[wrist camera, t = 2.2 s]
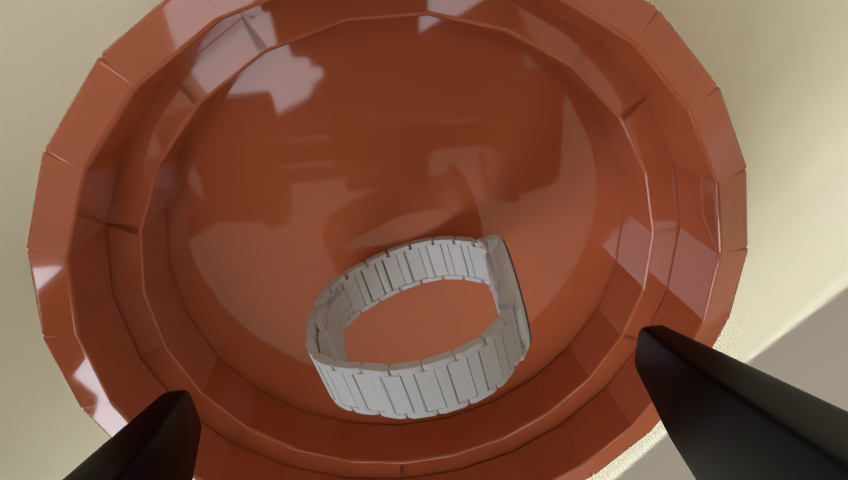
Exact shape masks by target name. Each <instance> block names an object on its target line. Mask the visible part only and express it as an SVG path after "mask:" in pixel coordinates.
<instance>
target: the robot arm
mask: <svg viewBox="0 0 848 480" xmlns="http://www.w3.org/2000/svg"><path fill="white" fill-rule="evenodd" d="M634 361H635V367H636V370H637V372H638V374H639V376H640V378H641V380H642V382H643V384H644V386H645V388H646V390H647V392H648V394H649V396H650V398H651V400H652V402H653V404H654V406H655V408H656V411H657V413H658V415H659V417H660V419H661V421H662V423H663V425H664V427H665V429H666V431H667V432H668V434H669V436H670V438H671V439H672V441H673V443H674V445H675V446H676V448H677V450H678V451H679V453H680V454H681V456H682V458H683V459H684V461H685V462H686V464H687V466H688V467H689V469H690V470H691V472H692V474H693V475H694V477H695V478H696V480H848V412H847V411H845V410H843V409H841V408H838V407H836V406H834V405H832V404H830V403H828V402H826V401H823V400H822V399H819V398H817V397H815V396H813V395H811V394H809V393H807V392H804V391H802V390H800V389H798V388H796V387H794V386H791V385H790V384H787V383H785V382H783V381H781V380H779V379H777V378H775V377H772V376H770V375H768V374H766V373H764V372H762V371H760V370H757V369H755V368H753V367H751V366H749V365H747V364H745V363H743V362H740V361H738V360H736V359H734V358H732V357H730V356H728V355H725V354H723V353H721V352H719V351H717V350H715V349H713V348H711V347H708V346H706V345H704V344H702V343H700V342H698V341H696V340H693V339H691V338H689V337H687V336H685V335H683V334H681V333H678V332H676V331H674V330H672V329H670V328H668V327H666V326H663V325H653V326H645V327H643V328H641V329H640V331H639V334H638V339H637V345H636V351H635V358H634ZM200 436H201V420H200V417H199V415H198V412H197V409H196V407H195V404H194V402H193V399H192V397H191V395H190V393H189V392H188V391H187V390H177V391H170V392H165V393H163V394H162V395H160V396H159V397H158V398H157V399H156V400H154V401H153V402H152V403H151V404H150V405H149V406H147V407H146V408H145V409H144V410H143V411H142V412H141V413H139V414H138V415H137V416H136V417H135V418H134V419H132V420H131V421H130V422H129V423H128V424H127V425H125V426H124V427H123V428H122V429H121V430H120V431H119V432H117V433H116V434H115V435H114V436H113V437H112V438H110V439H109V440H108V441H107V442H106V443H105V444H103V445H102V446H101V447H100V448H99V449H98V450H97V451H95V452H94V453H93V454H92V455H91V456H90V457H88V458H87V459H86V460H85V461H84V462H83V463H81V464H80V465H79V466H78V467H77V468H76V469H75V470H73V471H72V472H71V473H70V474H69V475H68V476H66V477H65V478H64V479H63V480H193V475H194V469H195V464H196V458H197V453H198V447H199V442H200Z"/></svg>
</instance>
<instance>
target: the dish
mask: <svg viewBox="0 0 848 480" xmlns="http://www.w3.org/2000/svg"><path fill="white" fill-rule="evenodd" d="M101 56H102V57H100V58H98V59H97V60H96V62H95V63H94V65H93V67H92V69H91V70H90V72H89V74H88V76H87V77H86V79H85V81H84V83H83V84H82V86H81V88H80V89H79V91H78V93H77V95H76V96H75V98H74V100H73V102H72V103H71V105H70V107H69V109H68V110H67V112H66V114H65V115H64V117H63V119H62V121H61V122H60V124H59V126H58V128H57V129H56V131H55V133H54V135H53V136H52V138H51V140H50V141H49V143H48V145H47V147H46V151H45V152H44V153H43V154H42V160H41V166H40V172H39V178H38V184H37V190H36V196H35V202H34V207H33V213H32V219H31V225H30V231H29V237H28V243H27V248H28V249H29V250H28V257H29V263H30V268H31V274H32V279H33V285H34V290H35V296H36V301H37V307H38V312H39V318H40V323H41V329H42V334H43V335H44V337H43V338H44V340H45V342H46V344H47V346H48V348H49V350H50V351H51V353H52V355H53V357H54V359H55V361H56V362H57V364H58V366H59V368H60V370H61V372H62V373H63V375H64V377H65V379H66V381H67V383H68V384H69V386H70V388H71V390H72V392H73V394H74V396H75V397H76V399H77V401H78V403H79V405H80V407H82V408H84V411H85V412H86V413H87V414H88V415H89V416H90V417H91V418H92V419H93V420H94V421H95V422H96V423H97V424H98V425H99V426H100V427H101V428H102V429H103V430H104V431H105V432H106V433H107V434H108V435H109V436H110V437H111V438H112V437H113V436H114V435H115V434H116V433H117V432H119V431H120V430H121V429H122V428H123V427H124V426H125V425H127V424H128V423H129V422H130V421H131V420H132V419H134V418H135V417H136V416H137V415H138V414H139V413H141V412H142V411H143V410H144V409H145V408H146V407H147V406H149V405H150V404H151V403H152V402H153V401H154V400H156V399H157V398H158V397H159V396H160V395H162V394H163V393H165V392H170V391H177V390H187V391H188V392H189V393H190V395H191V397H192V399H193V402H194V404H195V407H196V409H197V412H198V415H199V417H200V420H201V436H200V442H199V447H198V453H197V458H196V464H195V469H194V475H193V480H586V479H588V478H589V477H591V476H592V475H593V474H596V473H598V472H599V471H600V470H601V469H603V468H604V467H605V466H607V465H608V464H609V463H610V462H612V461H613V460H614V459H616V458H617V457H618V456H620V455H621V454H622V453H623V452H625V451H626V450H627V449H629V448H630V447H631V446H632V445H634V444H635V443H636V442H638V441H639V440H640V439H641V438H643V437H644V436H645V435H646V433H649V432H650V431H651V430H652V429H653V428H654V427H655V425H656V424H657V423H658V422H659V421H660V420H661V419H660V417H659V415H658V413H657V411H656V408H655V406H654V404H653V402H652V400H651V398H650V396H649V394H648V392H647V390H646V388H645V386H644V384H643V382H642V380H641V378H640V376H639V374H638V372H637V370H636V367H635V361H634V358H635V351H636V345H637V339H638V334H639V331H640V329H641V328H643V327H645V326H653V325H663V326H666V327H668V328H670V329H672V330H674V331H676V332H678V333H681V334H683V335H685V336H687V337H689V338H691V339H693V340H696V341H698V342H700V343H702V344H704V345H706V346H708V347H711V348H712V347H713V345H714V343H715V342H716V340H717V338H718V336H719V335H720V333H721V331H722V329H723V327H724V326H725V324H726V321H727V319H729V316H730V313H731V309H732V305H733V302H734V298H735V294H736V291H737V287H738V283H739V280H740V276H741V272H742V269H743V265H744V261H745V258H746V254H747V250H748V249H747V248H746V247H747V182H746V170H745V169H746V164H745V161H744V158H743V155H742V152H741V149H740V146H739V143H738V141H737V138H736V135H735V132H734V129H733V126H732V123H731V120H730V117H729V114H728V111H727V108H726V105H725V102H724V99H723V96H722V93H721V90H720V88H719V87H717V84H716V83H715V81H714V80H713V79H712V77H711V76H710V75H709V74H708V72H707V71H706V70H705V68H704V67H703V66H702V64H701V63H700V62H699V61H698V59H697V58H696V57H695V55H694V54H693V53H692V52H691V50H690V49H689V48H688V46H687V45H686V44H685V42H684V41H683V40H682V39H681V37H680V36H679V35H678V33H677V32H676V31H675V30H674V28H673V27H672V26H671V24H670V23H669V22H668V20H667V19H666V18H665V17H664V15H663V14H662V13H661V12H659V11H657V9H656V7H655V6H654V5H652V4H651V3H649V2H647V1H646V0H163V1H162V2H161V3H160V4H158V5H157V6H156V7H155V8H154V9H152V10H151V11H150V12H149V13H148V14H147V15H145V16H144V17H143V18H142V19H141V20H140V21H138V22H137V23H136V24H135V25H134V26H133V27H131V28H130V29H129V30H128V31H127V32H125V33H124V34H123V35H122V36H121V37H120V38H118V39H117V40H116V41H115V42H114V43H113V44H111V45H110V46H109V47H108V48H107V49H105V50H104V51H103V53H102V55H101ZM490 235H498V236H499V237H500V238H501V239H504V241H505V243H506V245H507V247H508V250H509V253H510V256H511V258H512V261H513V265H514V268H515V271H516V274H517V277H518V281H519V284H520V288H521V292H522V296H523V300H524V304H525V308H526V311H527V316H528V321H529V325H530V331H531V338H532V343H530V345H529V349H527V353H526V356H525V358H524V360H522V361H519V363H518V365H517V366H514V368H515V369H514V372H513V374H512V375H511V376H510V377H509V379H508V380H507V381H506V383H505V384H504V385H503V386H501V387H499V388H498V387H496V391H495V392H494V393H493V394H491V395H489V396H488V397H486V398H484V399H482V400H480V401H479V402H477V403H472V404H470V402H469V400H468V403H469V404H468V405H467V406H466V407H464V408H461V409H458V410H455V411H452V412H449V413H446V414H440V413H439V411H438V414H437V415H435V416H431V417H424V418H417V419H412V418H409V417H408V415H407V417H406V418H405V419H396V418H389V417H385V416H382V415H381V414H380V413H379V414H377V415H368V414H360V413H357V412H355V411H354V409H353V410H352V411H348V410H345V409H344V408H342V407H340V406H338V405H337V404H336V403H335V402H334V400H333V399H332V398H331V396H330V395H329V393H328V391H327V389H326V387H325V385H324V383H323V381H322V379H321V377H320V375H319V373H318V371H317V369H316V367H315V365H314V363H313V361H312V359H311V357H310V355H309V353H308V350H307V347H306V340H307V337H306V329H307V323H308V320H309V317H310V313H311V310H312V308H313V307H314V306H315V300H316V298H317V296H318V295H319V293H320V292H321V291H322V290H323V289H325V288H326V285H327V284H328V283H329V282H330V281H332V280H333V279H334V278H335V277H337V276H338V275H340V274H344V272H345V271H346V270H348V269H349V268H351V267H353V266H355V265H357V264H359V263H360V262H364V263H365V265H366V262H365V260H366V259H368V258H370V257H371V256H374V255H376V254H378V253H380V252H383V251H385V252H386V254H387V255H388V253H387V250H388V249H390V248H392V247H395V246H398V245H401V244H404V243H408V244H409V247H411V245H410V242H411V241H414V240H419V239H423V238H428V237H432V239H433V238H434V237H437V236H454V237H457V236H462V237H470V238H474V239H475V240H477V239H479V238H483V237H488V236H490ZM433 242H434V241H433ZM418 250H419V249H418ZM404 253H405V251H404ZM419 253H420V252H419ZM405 256H406V254H405ZM420 256H421V255H420ZM396 258H397V257H396ZM406 259H407V257H406ZM421 259H422V258H421ZM397 261H398V260H397ZM407 262H408V260H407ZM422 262H423V261H422ZM382 263H383V262H382ZM398 264H399V263H398ZM408 265H409V263H408ZM383 266H384V264H383ZM423 266H424V265H423ZM399 267H400V266H399ZM409 268H410V266H409ZM384 269H385V267H384ZM424 269H425V268H424ZM400 270H401V269H400ZM385 271H386V270H385ZM410 271H411V269H410ZM425 272H426V271H425ZM401 273H402V272H401ZM386 274H387V273H386ZM411 274H412V272H411ZM344 275H345V274H344ZM402 275H403V274H402ZM426 275H427V274H426ZM443 276H444V275H443ZM387 277H388V276H387ZM412 277H413V275H412ZM403 278H404V277H403ZM413 279H414V278H413ZM388 280H389V278H388ZM404 281H405V280H404ZM420 281H421V284H420V285H417V286H414V287H411V288H409V289H406V290H403V291H402V290H401V289H400V287H399V291H400V292H399V293H397V294H395V295H393V296H391V297H389V298H387V299H385V300H383V301H382V300H380V299H379V298H378V299H379V301H380V302H379V303H378V304H376V305H375V306H373V307H371V308H370V309H368V310H367V311H365V312H360V311H359V312H360V315H359V316H358V317H357V318H356V319H355V320H354V321H352V322H351V323H350V324H349V325H348V326H347V327H345V328H346V329H345V331H344V333H343V336H344V338H345V344H344V346H345V348H346V361H355V362H360V363H361V365H362V364H363V363H364V362H369V363H379V364H388V365H389V368H390V366H391V364H395V363H402V362H409V361H416V360H420V362H421V364H422V360H423V359H425V358H428V357H431V356H434V355H438V354H441V353H444V352H447V351H452V353H453V350H454V349H455V348H457V347H459V346H461V345H463V344H465V343H467V342H469V341H471V340H473V339H475V338H477V337H481V334H482V333H483V332H484V331H485V330H486V329H487V328H488V327H489V326H490V325H491V323H492V322H493V321H494V320H495V319H496V318H499V317H498V311H497V308H496V304H495V301H494V297H493V293H492V291H491V290H490V289H489V285H488V284H486V283H484V282H482V283H479V282H474V281H468V280H465V278H464V279H462V280H456V279H444V277H443V279H442V280H437V281H432V282H427V283H423V282H422V279H421V280H420ZM389 282H390V281H389ZM390 285H391V284H390ZM391 288H392V287H391ZM453 354H454V353H453ZM446 366H447V365H446ZM447 369H448V368H447ZM448 372H449V371H448ZM449 375H450V374H449ZM450 378H451V377H450ZM451 381H452V380H451ZM452 384H453V383H452ZM453 387H454V386H453ZM454 390H455V389H454ZM455 393H456V392H455ZM456 396H457V395H456Z"/></svg>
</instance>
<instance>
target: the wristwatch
mask: <svg viewBox="0 0 848 480" xmlns="http://www.w3.org/2000/svg"><path fill="white" fill-rule="evenodd" d="M433 241H434V242H433ZM410 245H411V247H409V244H408V243H404V244H401V245H398V246H395V247H392V248H390V249H388V250H387V253H388V255H387V254H386V252H385V251H383V252H380V253H378V254H376V255H374V256H371V257H370V258H368V259H366V260H365V262H366V265H365V263H364V262H360V263H359V264H357V265H355V266H353V267H351V268H349V269H348V270H346V271H345V272H344V274H345V275H344V274H340V275H338V276H337V277H335V278H334V279H333V280H332V281H330V282H329V283H328V284H327V285H326V288H325V289H323V290H322V291H321V292H320V293H319V295H318V296H317V298H316V300H315V306H314V307H313V308H312V310H311V313H310V317H309V320H308V323H307V329H306V337H307V340H306V347H307V350H308V353H309V355H310V357H311V359H312V361H313V363H314V365H315V367H316V369H317V371H318V373H319V375H320V377H321V379H322V381H323V383H324V385H325V387H326V389H327V391H328V393H329V395H330V396H331V398H332V399H333V400H334V402H335V403H336V404H337V405H338V406H340V407H342V408H344V409H345V410H348V411H352V410H353V409H354V411H355V412H357V413H360V414H368V415H377V414H379V413H380V414H381V415H382V416H385V417H389V418H396V419H405V418H406V417H407V415H408V417H409V418H412V419H417V418H424V417H431V416H435V415H437V414H438V411H439V413H440V414H446V413H449V412H452V411H455V410H458V409H461V408H464V407H466V406H467V405H468V404H469V403H468V400H469V402H470V404H472V403H477V402H479V401H480V400H482V399H484V398H486V397H488V396H489V395H491V394H493V393H494V392H495V391H496V387H498V388H499V387H501V386H503V385H504V384H505V383H506V381H507V380H508V379H509V377H510V376H511V375H512V374H513V372H514V369H515V368H514V366H517V365H518V363H519V361H522V360H524V358H525V356H526V353H527V349H529V345H530V343H532V338H531V331H530V325H529V321H528V316H527V311H526V308H525V304H524V300H523V296H522V292H521V288H520V284H519V281H518V277H517V274H516V271H515V268H514V265H513V261H512V258H511V256H510V253H509V250H508V247H507V245H506V243H505V241H504V239H501V238H500V237H499V236H498V235H490V236H488V237H483V238H479V239H477V240H475V239H474V238H470V237H462V236H457V237H454V236H437V237H434V238H433V239H432V237H428V238H423V239H419V240H414V241H411V242H410ZM418 249H419V250H418ZM404 251H405V253H404ZM419 252H420V253H419ZM405 254H406V256H405ZM420 255H421V256H420ZM396 257H397V258H396ZM406 257H407V259H406ZM421 258H422V259H421ZM397 260H398V261H397ZM407 260H408V262H407ZM422 261H423V262H422ZM382 262H383V263H382ZM398 263H399V264H398ZM408 263H409V265H408ZM383 264H384V266H383ZM423 265H424V266H423ZM399 266H400V267H399ZM409 266H410V268H409ZM384 267H385V269H384ZM424 268H425V269H424ZM400 269H401V270H400ZM410 269H411V271H410ZM385 270H386V271H385ZM425 271H426V272H425ZM401 272H402V273H401ZM411 272H412V274H411ZM386 273H387V274H386ZM402 274H403V275H402ZM426 274H427V275H426ZM412 275H413V277H412ZM443 275H444V276H443ZM387 276H388V277H387ZM403 277H404V278H403ZM443 277H444V279H456V280H462V279H464V278H465V280H468V281H474V282H479V283H482V282H484V283H486V284H488V285H489V289H490V290H491V291H492V293H493V297H494V301H495V304H496V308H497V311H498V317H499V318H496V319H495V320H494V321H493V322H492V323H491V325H490V326H489V327H488V328H487V329H486V330H485V331H484V332H483V333H482V334H481V337H477V338H475V339H473V340H471V341H469V342H467V343H465V344H463V345H461V346H459V347H457V348H455V349H454V350H453V353H454V354H453V353H452V351H447V352H444V353H441V354H438V355H434V356H431V357H428V358H425V359H423V360H422V364H421V362H420V360H416V361H409V362H402V363H395V364H391V366H390V368H389V365H388V364H379V363H369V362H364V363H363V364H362V365H361V363H360V362H355V361H346V348H345V346H344V344H345V338H344V336H343V333H344V331H345V329H346V328H345V327H347V326H348V325H349V324H350V323H351V322H352V321H354V320H355V319H356V318H357V317H358V316H359V315H360V312H365V311H367V310H368V309H370V308H371V307H373V306H375V305H376V304H378V303H379V302H380V301H379V299H380V300H382V301H383V300H385V299H387V298H389V297H391V296H393V295H395V294H397V293H399V292H400V291H399V287H400V289H401V290H402V291H403V290H406V289H409V288H411V287H414V286H417V285H420V284H421V281H420V280H421V279H422V282H423V283H427V282H432V281H437V280H442V279H443ZM388 278H389V280H388ZM413 278H414V279H413ZM404 280H405V281H404ZM389 281H390V282H389ZM390 284H391V285H390ZM391 287H392V288H391ZM378 298H379V299H378ZM359 311H360V312H359ZM446 365H447V366H446ZM447 368H448V369H447ZM448 371H449V372H448ZM449 374H450V375H449ZM450 377H451V378H450ZM451 380H452V381H451ZM452 383H453V384H452ZM453 386H454V387H453ZM454 389H455V390H454ZM455 392H456V393H455ZM456 395H457V396H456Z"/></svg>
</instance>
